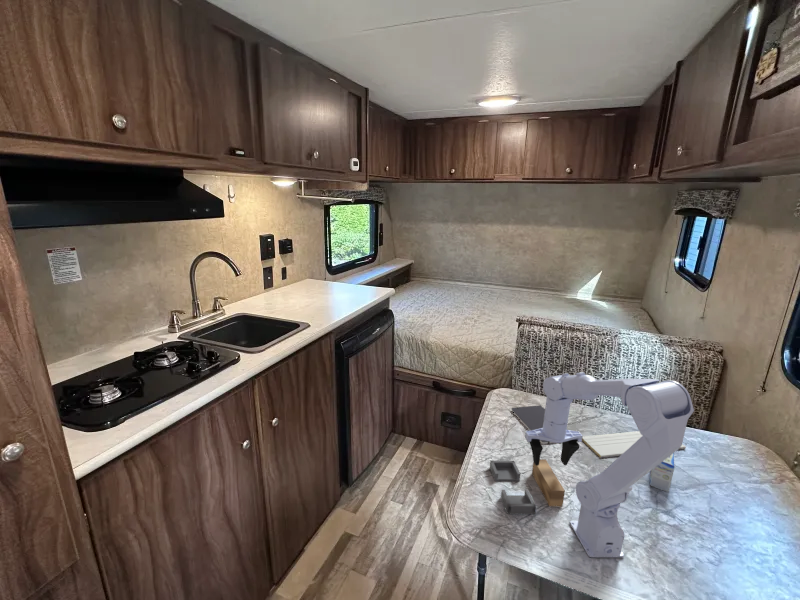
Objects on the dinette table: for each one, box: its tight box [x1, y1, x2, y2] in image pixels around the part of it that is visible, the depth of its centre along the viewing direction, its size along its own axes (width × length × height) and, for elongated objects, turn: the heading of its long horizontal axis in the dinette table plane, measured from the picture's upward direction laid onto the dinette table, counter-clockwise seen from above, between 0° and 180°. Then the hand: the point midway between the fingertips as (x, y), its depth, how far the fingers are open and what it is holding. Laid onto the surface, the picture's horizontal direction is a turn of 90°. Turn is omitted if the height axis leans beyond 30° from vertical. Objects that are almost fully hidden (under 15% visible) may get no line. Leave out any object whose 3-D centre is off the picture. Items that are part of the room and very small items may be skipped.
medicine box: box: [649, 452, 676, 493], centre depth 102 cm, size 8×4×9 cm, turn 145°
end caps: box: [489, 460, 537, 515], centre depth 99 cm, size 17×7×2 cm, turn 1°
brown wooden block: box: [531, 458, 566, 507], centre depth 99 cm, size 12×4×5 cm, turn 1°
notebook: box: [511, 405, 556, 445], centre depth 130 cm, size 13×2×21 cm
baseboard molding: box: [582, 430, 687, 459], centre depth 121 cm, size 31×3×12 cm
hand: (549, 463), depth 98 cm, fingers open, 7 cm apart
